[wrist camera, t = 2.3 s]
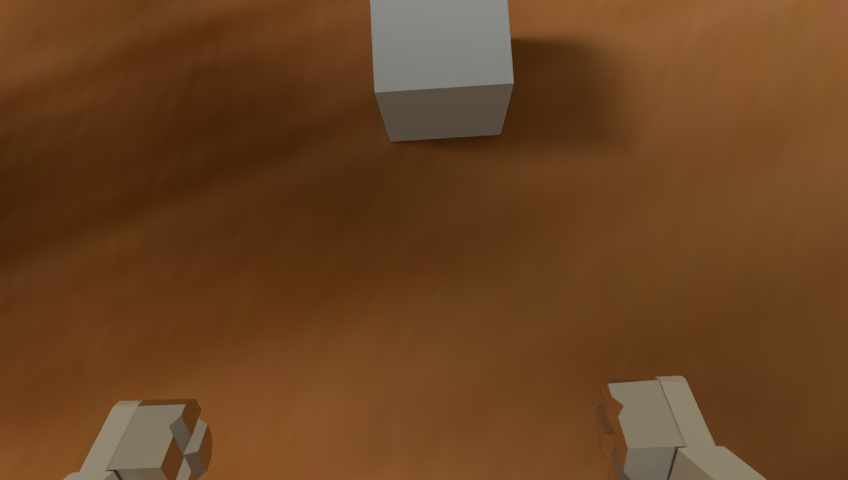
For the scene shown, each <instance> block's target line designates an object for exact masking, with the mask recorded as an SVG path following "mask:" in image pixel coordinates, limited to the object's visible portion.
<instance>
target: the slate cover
mask: <svg viewBox="0 0 848 480" xmlns="http://www.w3.org/2000/svg"><path fill="white" fill-rule="evenodd" d="M370 7H371V29H372V52H373V74H374V93H375V96H376V99H377V103H378V106H379V109H380V112H381V115H382V118H383V122H384V125H385V128H386V131H387V134H388V137H389V140H390V142H396V141H411V140H427V139H442V138H457V137H472V136H487V135H501V132H502V128H503V124H504V120H505V116H506V112H507V108H508V105H509V101H510V97H511V93H512V89H513V85H514V76H513V64H512V51H511V39H510V27H509V14H508V2H507V0H370Z"/></svg>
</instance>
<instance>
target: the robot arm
mask: <svg viewBox="0 0 848 480" xmlns="http://www.w3.org/2000/svg"><path fill="white" fill-rule="evenodd" d="M600 393H601V397H602V400H603V403H602V404H601V405H600V406H599V407H598V412H597V432H598V438H599V443H600V447H601V451H602V455H603V456H604V457H606V458H607V459H608V460H609V461H610V464H609V471H608V478H609V480H767V479H765V478H764V477H763V476H761V475H760V474H759V473H758V472H756V471H755V470H754V469H753V468H751V467H750V466H749V465H747V464H746V463H745V462H744V461H742V460H741V459H740V458H739V457H737V456H736V455H735V454H733V453H732V452H731V451H730V450H728V449H727V448H726V447H724V446H716V445H715V443H714V440H713V438H712V436H711V434H710V432H709V429H708V427H707V425H706V423H705V421H704V418H703V416H702V414H701V412H700V409H699V407H698V405H697V403H696V401H695V398H694V396H693V394H692V392H691V390H690V387H689V385H688V383H687V381H686V379H685V378H684V377H683V376H662V377H636V378H619V379H604V380H603V382H602V384H601V390H600ZM200 412H201V409H200V407H199V405H198V403H197V401H196V399H172V400H133V401H119V402H118V403H117V404H116V405H115V406H114V407H113V408H112V409H111V411H110V413H109V415H108V417H107V419H106V421H105V423H104V425H103V427H102V429H101V431H100V433H99V434H98V436H97V438H96V440H95V442H94V444H93V446H92V448H91V450H90V452H89V454H88V456H87V458H86V460H85V462H84V464H83V465H82V467H81V469H80V471H79V472H73V473H71V474H69V475H68V476H67V477H66V478H65V479H63V480H198V479H199V478H200V477H201V476H202V475H203V474H204V473H205V472H206V471H207V469H208V466H209V463H210V459H211V452H212V437H211V432H210V429H209V427H208V424H206V423H205V422H203V421H202V420H200V419H199V415H200Z"/></svg>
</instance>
